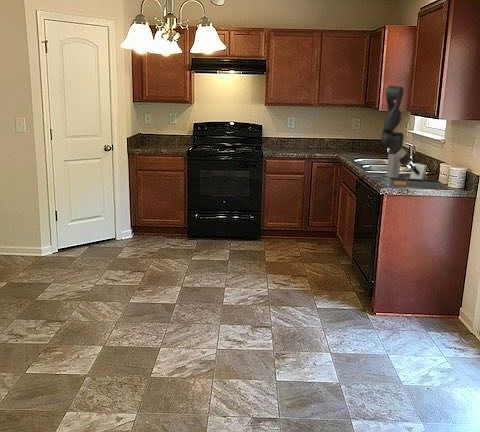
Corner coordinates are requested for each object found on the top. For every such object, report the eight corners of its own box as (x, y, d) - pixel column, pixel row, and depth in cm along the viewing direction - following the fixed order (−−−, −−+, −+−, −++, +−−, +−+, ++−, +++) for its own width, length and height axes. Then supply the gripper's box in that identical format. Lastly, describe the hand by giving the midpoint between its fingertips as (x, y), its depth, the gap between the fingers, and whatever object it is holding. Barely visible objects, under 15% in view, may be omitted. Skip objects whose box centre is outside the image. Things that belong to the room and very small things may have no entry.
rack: (388, 183, 362) (388, 177, 361) (437, 185, 358) (437, 179, 357) (390, 186, 350) (391, 180, 349) (441, 188, 346) (442, 183, 345)
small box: (422, 183, 366) (427, 165, 361) (420, 184, 360) (424, 166, 356) (411, 180, 370) (416, 162, 366) (408, 181, 365) (413, 163, 361)
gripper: (408, 153, 354) (423, 170, 356) (404, 151, 368) (419, 167, 369) (399, 160, 356) (414, 177, 358) (396, 158, 370) (410, 174, 371)
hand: (417, 172), depth 364 cm, fingers closed on small box, 8 cm apart
